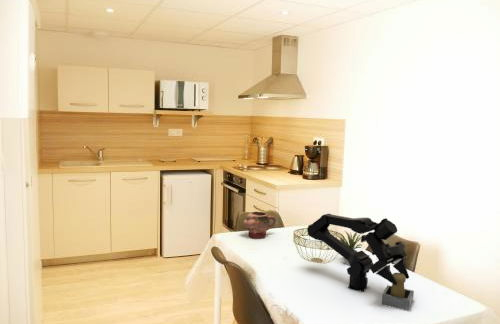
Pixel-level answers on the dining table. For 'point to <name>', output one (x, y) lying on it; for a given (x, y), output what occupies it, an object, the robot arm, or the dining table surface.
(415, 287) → the dining table surface
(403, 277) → the cork
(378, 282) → the dining table surface
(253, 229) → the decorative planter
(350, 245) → the house plant
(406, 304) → the square metal tray
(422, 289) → the dining table surface
